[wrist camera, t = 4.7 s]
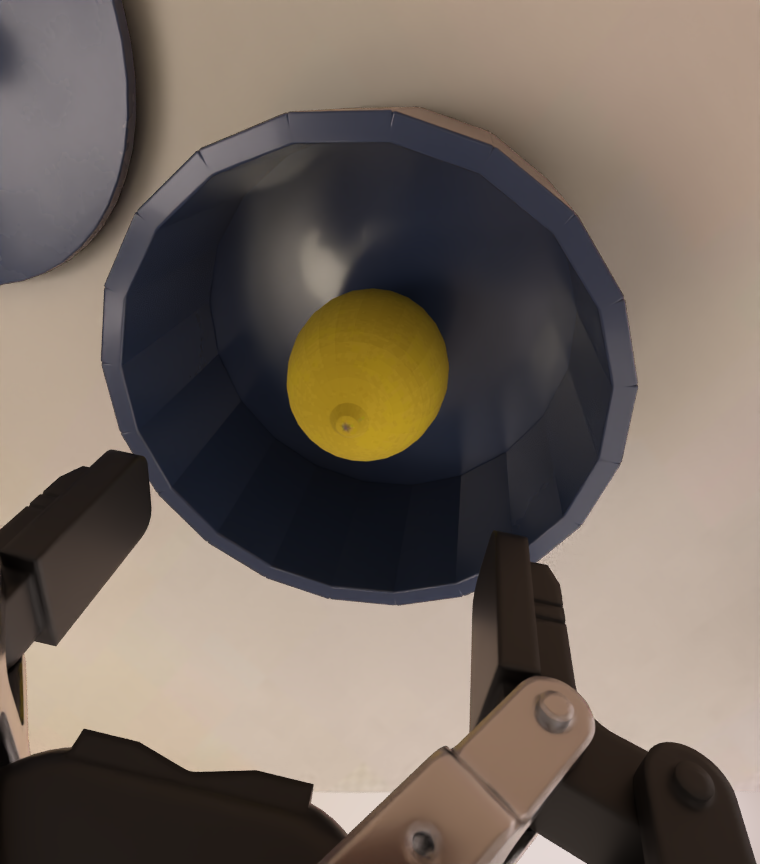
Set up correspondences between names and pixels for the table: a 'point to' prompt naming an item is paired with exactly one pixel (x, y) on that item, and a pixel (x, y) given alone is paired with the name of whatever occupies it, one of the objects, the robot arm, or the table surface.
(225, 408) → the pot
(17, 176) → the pot lid
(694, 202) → the table surface
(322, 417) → the lemon
